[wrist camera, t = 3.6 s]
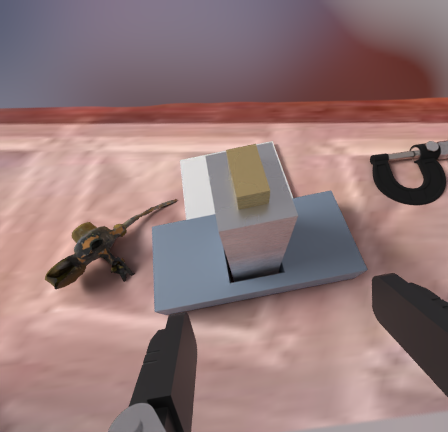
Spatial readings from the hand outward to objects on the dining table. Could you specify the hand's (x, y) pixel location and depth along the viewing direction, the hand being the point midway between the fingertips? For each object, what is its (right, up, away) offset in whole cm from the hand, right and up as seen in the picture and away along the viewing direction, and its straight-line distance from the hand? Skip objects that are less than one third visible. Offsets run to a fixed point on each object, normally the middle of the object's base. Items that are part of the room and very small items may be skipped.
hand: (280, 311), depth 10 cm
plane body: (0, 0, +14) cm, 14 cm away
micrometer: (+22, +9, +17) cm, 29 cm away
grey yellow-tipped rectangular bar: (0, 0, +14) cm, 14 cm away
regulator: (-14, +1, +17) cm, 22 cm away
